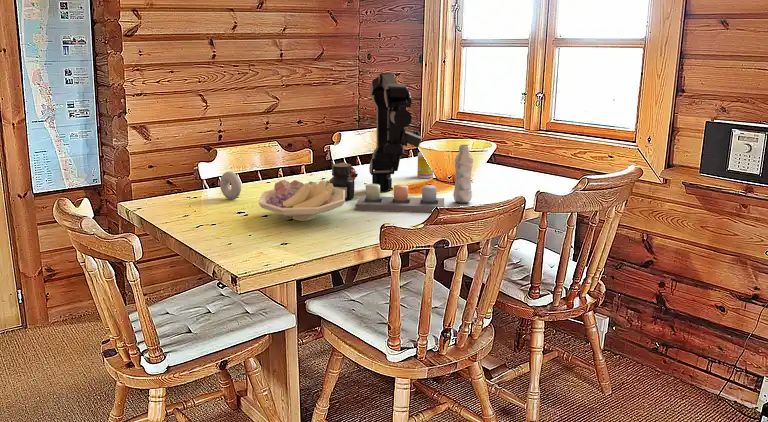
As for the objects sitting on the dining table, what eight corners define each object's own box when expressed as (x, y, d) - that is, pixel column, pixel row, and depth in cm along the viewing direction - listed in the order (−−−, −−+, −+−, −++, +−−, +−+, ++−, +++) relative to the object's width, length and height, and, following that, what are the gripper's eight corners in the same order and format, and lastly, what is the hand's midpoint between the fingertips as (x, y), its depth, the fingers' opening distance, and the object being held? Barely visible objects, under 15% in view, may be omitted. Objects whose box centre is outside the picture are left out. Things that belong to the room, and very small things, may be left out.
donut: (243, 200, 237) (242, 172, 235) (235, 202, 235) (234, 174, 232) (226, 196, 244) (225, 168, 241) (218, 198, 241) (217, 170, 239)
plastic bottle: (473, 201, 239) (475, 144, 234) (469, 205, 233) (471, 147, 228) (455, 199, 241) (457, 143, 236) (451, 203, 235) (452, 146, 230)
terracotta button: (393, 200, 227) (393, 187, 226) (394, 197, 232) (394, 184, 231) (407, 200, 227) (407, 187, 226) (408, 197, 231) (408, 184, 230)
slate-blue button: (421, 201, 226) (421, 188, 225) (422, 197, 231) (422, 185, 230) (436, 201, 226) (436, 188, 225) (436, 198, 231) (436, 185, 229)
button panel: (355, 210, 226) (355, 204, 225) (360, 201, 237) (360, 195, 237) (443, 212, 223) (443, 206, 222) (444, 203, 234) (444, 198, 234)
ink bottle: (323, 198, 242) (322, 164, 239) (341, 194, 248) (341, 161, 245) (342, 202, 236) (342, 168, 233) (360, 198, 242) (360, 165, 239)
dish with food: (311, 235, 197) (310, 187, 193) (239, 221, 211) (237, 176, 207) (364, 215, 220) (364, 171, 216) (296, 203, 234) (295, 162, 230)
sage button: (364, 199, 228) (364, 186, 227) (366, 196, 233) (366, 183, 232) (379, 199, 228) (379, 187, 227) (380, 196, 232) (380, 184, 231)
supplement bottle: (434, 178, 276) (434, 147, 272) (417, 178, 276) (418, 147, 272) (433, 175, 282) (433, 144, 279) (417, 175, 282) (417, 144, 279)
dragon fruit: (335, 183, 274) (354, 192, 266) (323, 173, 267) (342, 182, 259) (346, 165, 275) (366, 174, 267) (334, 155, 268) (354, 164, 260)
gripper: (418, 128, 213) (417, 177, 217) (422, 121, 231) (422, 166, 235) (383, 127, 215) (383, 176, 219) (390, 120, 233) (389, 165, 237)
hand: (395, 170), depth 227 cm, fingers closed
